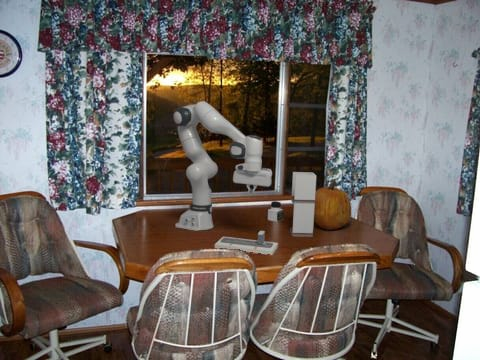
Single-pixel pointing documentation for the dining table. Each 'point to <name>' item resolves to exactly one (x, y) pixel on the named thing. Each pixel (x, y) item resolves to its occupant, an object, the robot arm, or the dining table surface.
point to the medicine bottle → (275, 212)
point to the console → (246, 245)
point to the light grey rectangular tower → (303, 203)
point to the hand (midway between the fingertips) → (251, 192)
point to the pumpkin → (331, 207)
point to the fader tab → (261, 238)
